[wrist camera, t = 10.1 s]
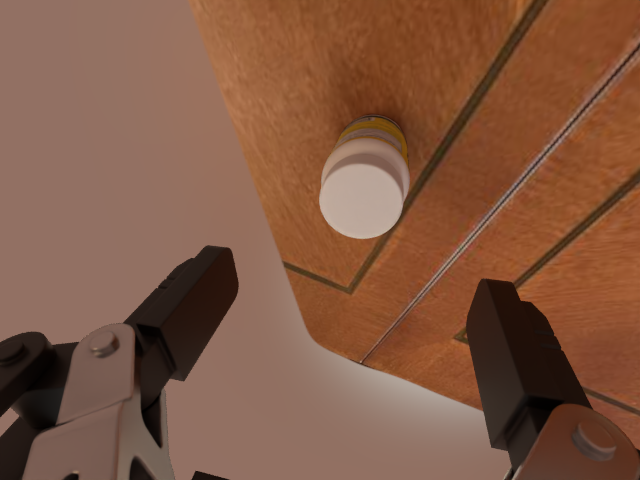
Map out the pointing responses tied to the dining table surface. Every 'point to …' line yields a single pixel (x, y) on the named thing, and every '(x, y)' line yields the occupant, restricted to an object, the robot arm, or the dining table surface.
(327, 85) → the dining table surface
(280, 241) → the dining table surface
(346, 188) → the supplement bottle
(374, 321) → the dining table surface
